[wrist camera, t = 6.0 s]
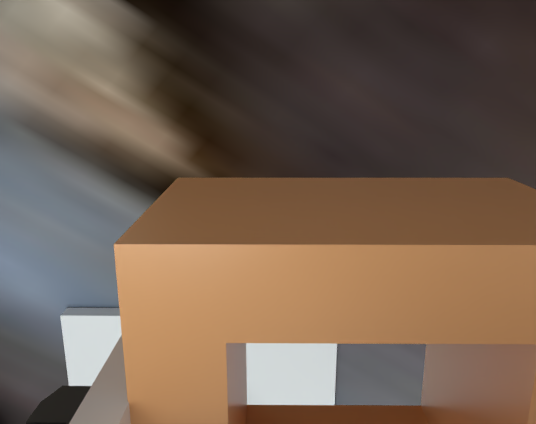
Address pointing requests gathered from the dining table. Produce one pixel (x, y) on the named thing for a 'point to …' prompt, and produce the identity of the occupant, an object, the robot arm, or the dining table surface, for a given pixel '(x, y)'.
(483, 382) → the collar
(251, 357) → the post stand
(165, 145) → the dining table surface
